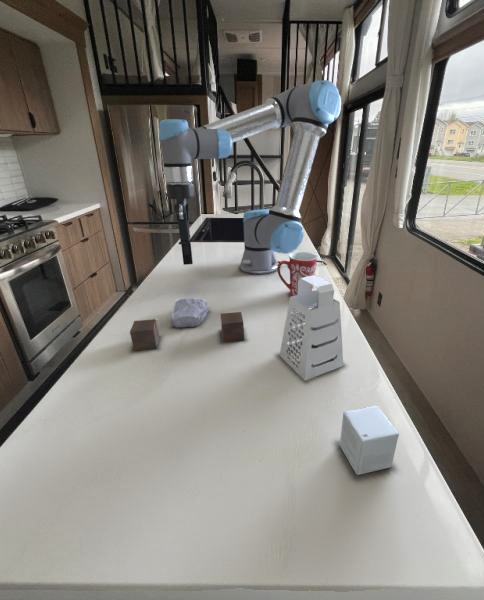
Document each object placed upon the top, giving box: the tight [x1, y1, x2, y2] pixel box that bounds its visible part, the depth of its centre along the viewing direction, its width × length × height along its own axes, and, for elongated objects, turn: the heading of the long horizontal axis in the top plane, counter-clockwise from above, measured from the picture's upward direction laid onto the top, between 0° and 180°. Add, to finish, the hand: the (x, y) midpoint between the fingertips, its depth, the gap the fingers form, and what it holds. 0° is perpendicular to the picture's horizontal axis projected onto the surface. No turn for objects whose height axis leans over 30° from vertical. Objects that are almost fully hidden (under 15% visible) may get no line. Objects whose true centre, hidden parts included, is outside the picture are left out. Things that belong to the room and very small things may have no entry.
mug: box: [276, 251, 319, 297], centre depth 105 cm, size 13×9×14 cm
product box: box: [339, 405, 400, 476], centre depth 50 cm, size 6×6×7 cm
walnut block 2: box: [220, 311, 245, 343], centre depth 84 cm, size 6×6×6 cm
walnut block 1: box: [129, 318, 160, 352], centre depth 82 cm, size 6×6×6 cm
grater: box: [279, 274, 344, 381], centre depth 71 cm, size 10×10×20 cm
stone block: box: [170, 297, 210, 329], centre depth 94 cm, size 12×5×10 cm
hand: (188, 263), depth 100 cm, fingers closed
